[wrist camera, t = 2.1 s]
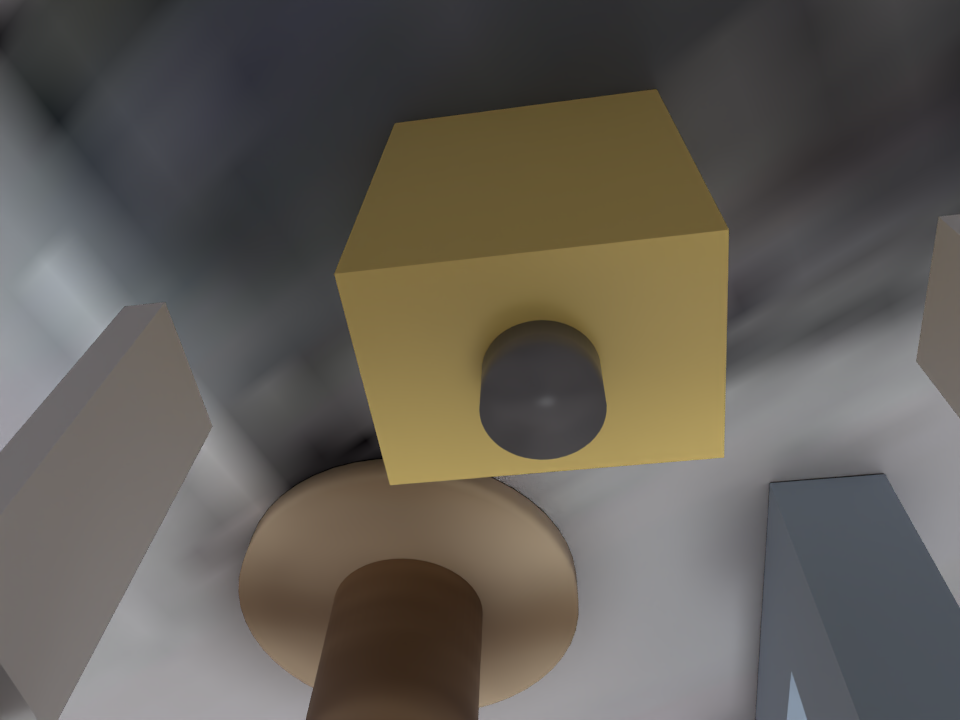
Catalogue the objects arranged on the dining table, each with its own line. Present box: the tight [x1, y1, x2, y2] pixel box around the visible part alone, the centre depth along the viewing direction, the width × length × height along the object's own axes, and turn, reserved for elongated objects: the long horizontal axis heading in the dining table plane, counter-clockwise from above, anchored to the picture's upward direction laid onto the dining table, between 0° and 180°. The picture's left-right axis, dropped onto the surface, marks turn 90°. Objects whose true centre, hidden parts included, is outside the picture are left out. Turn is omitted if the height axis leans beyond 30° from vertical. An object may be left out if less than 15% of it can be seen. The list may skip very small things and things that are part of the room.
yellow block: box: [334, 89, 729, 485], centre depth 15 cm, size 4×6×8 cm
